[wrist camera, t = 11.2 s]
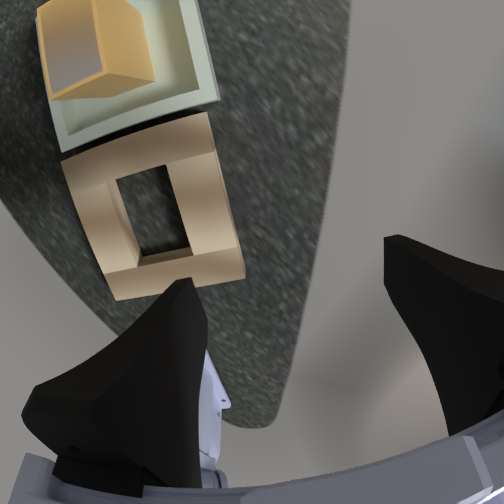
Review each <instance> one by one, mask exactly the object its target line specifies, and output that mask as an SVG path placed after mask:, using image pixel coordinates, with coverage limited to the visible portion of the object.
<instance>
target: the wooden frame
mask: <svg viewBox="0 0 504 504" xmlns="http://www.w3.org/2000/svg"><path fill="white" fill-rule="evenodd" d="M164 164H166V166H167V170H168V173H169V177H170V180H171V184H172V187H173V190H174V194H175V197H176V200H177V204H178V207H179V210H180V214H181V217H182V220H183V223H184V227H185V230H186V233H187V236H188V239H189V242H190V245H191V247H187V248H182V249H178V250H173V251H168V252H163V253H159V254H154V255H149V256H145V257H143V255H142V253H141V250H140V248H139V245H138V243H137V240H136V237H135V235H134V232H133V229H132V226H131V224H130V221H129V218H128V215H127V212H126V210H125V207H124V204H123V201H122V198H121V195H120V192H119V189H118V186H117V183H116V180H115V179H118V178H121V177H124V176H127V175H131V174H134V173H137V172H140V171H144V170H147V169H150V168H154V167H157V166H161V165H164ZM61 165H62V169H63V172H64V175H65V178H66V181H67V184H68V187H69V190H70V193H71V196H72V198H73V201H74V204H75V207H76V209H77V212H78V215H79V217H80V220H81V223H82V225H83V228H84V230H85V233H86V235H87V238H88V240H89V242H90V245H91V247H92V250H93V252H94V254H95V257H96V259H97V261H98V263H99V266H100V268H101V270H102V272H103V274H104V276H105V279H106V281H107V283H108V285H109V287H110V289H111V291H112V293H113V295H114V297H115V299H116V301H118V300H124V299H131V298H137V297H143V296H149V295H154V294H160V293H163V292H164V291H165V290H166V289H167V288H168V287H169V286H170V285H171V284H172V283H173V282H174V281H175V280H177V279H182V278H188V277H192V280H193V282H194V285H195V287H200V286H206V285H211V284H217V283H222V282H228V281H233V280H239V279H244V278H245V264H244V260H243V256H242V252H241V248H240V245H239V241H238V237H237V233H236V229H235V225H234V221H233V217H232V213H231V209H230V205H229V201H228V197H227V192H226V188H225V184H224V180H223V176H222V172H221V168H220V164H219V160H218V156H217V152H216V148H215V144H214V139H213V135H212V131H211V127H210V123H209V119H208V115H207V112H203V113H199V114H195V115H191V116H187V117H184V118H180V119H177V120H173V121H170V122H166V123H163V124H160V125H157V126H153V127H150V128H147V129H144V130H141V131H138V132H135V133H132V134H129V135H126V136H124V137H121V138H118V139H115V140H113V141H110V142H107V143H105V144H102V145H99V146H97V147H94V148H92V149H89V150H87V151H84V152H82V153H80V154H77V155H75V156H73V157H70V158H68V159H66V160H63V161H61Z"/></svg>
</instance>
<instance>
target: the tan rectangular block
mask: <svg viewBox="0 0 504 504" xmlns="http://www.w3.org/2000/svg"><path fill="white" fill-rule="evenodd" d="M37 18H38V29H39V38H40V46H41V54H42V61H43V67H44V73H45V79H46V84H47V90H48V95H49V99H50V101H54V100H66V99H81V98H106V97H114V96H117V95H119V94H122V93H125V92H127V91H130V90H133V89H136V88H139V87H141V86H144V85H147V84H150V83H153V82H156V81H155V76H154V72H153V67H152V63H151V58H150V54H149V49H148V44H147V39H146V34H145V29H144V24H143V19H142V14H141V12H139V11H138V10H137V9H136V8H134V7H133V6H132V5H130V4H129V3H128V2H126V1H125V0H50V1H49V2H47V3H45V4H44V5H42V6H41V7H39V8H38V9H37Z"/></svg>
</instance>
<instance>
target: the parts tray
mask: <svg viewBox="0 0 504 504" xmlns="http://www.w3.org/2000/svg"><path fill="white" fill-rule="evenodd" d="M125 1H126V2H128V3H129V4H130V5H132V6H133V7H134V8H136V9H137V10H138V11H139V12H141V14H142V19H143V24H144V29H145V34H146V39H147V44H148V49H149V54H150V58H151V63H152V67H153V72H154V76H155V81H156V82H153V83H150V84H147V85H144V86H141V87H139V88H136V89H133V90H130V91H127V92H125V93H122V94H119V95H117V96H114V97H106V98H81V99H66V100H54V101H50V99H49V95H48V90H47V84H46V79H45V73H44V67H43V61H42V54H41V46H40V38H39V29H38V18H37V17H36V28H37V37H38V45H39V52H40V59H41V65H42V71H43V76H44V82H45V87H46V92H47V97H48V101H49V106H50V110H51V114H52V118H53V122H54V126H55V130H56V134H57V138H58V141H59V145H60V148H61V152H65V151H68V150H70V149H73V148H76V147H79V146H81V145H84V144H86V143H88V142H91V141H93V140H96V139H98V138H101V137H103V136H106V135H109V134H111V133H114V132H117V131H119V130H122V129H125V128H128V127H130V126H133V125H136V124H139V123H142V122H145V121H148V120H151V119H154V118H157V117H161V116H164V115H167V114H171V113H174V112H177V111H181V110H184V109H188V108H192V107H196V106H199V105H203V104H207V103H211V102H215V101H220V100H221V98H220V93H219V89H218V85H217V81H216V76H215V72H214V68H213V64H212V59H211V55H210V51H209V47H208V42H207V38H206V34H205V30H204V26H203V21H202V17H201V13H200V9H199V5H198V0H125Z"/></svg>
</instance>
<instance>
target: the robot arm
mask: <svg viewBox="0 0 504 504" xmlns="http://www.w3.org/2000/svg"><path fill="white" fill-rule="evenodd" d="M384 285H385V287H386V289H387V292H388V294H389V296H390V299H391V301H392V303H393V305H394V306H395V308H396V310H397V311H398V313H399V315H400V316H401V318H402V319H403V321H404V323H405V324H406V326H407V327H408V329H409V330H410V332H411V334H412V335H413V337H414V339H415V341H416V342H417V344H418V346H419V348H420V349H421V352H422V353H423V355H424V358H425V360H426V363H427V365H428V367H429V370H430V372H431V375H432V378H433V381H434V383H435V386H436V389H437V392H438V395H439V398H440V402H441V405H442V409H443V412H444V416H445V419H446V424H447V429H448V434H449V437H447V438H444V439H441V440H437V441H434V442H432V443H429V444H427V445H424V446H421V447H419V448H416V449H414V450H411V451H408V452H405V453H402V454H399V455H396V456H393V457H390V458H387V459H384V460H380V461H377V462H374V463H370V464H367V465H363V466H360V467H355V468H351V469H348V470H343V471H339V472H334V473H330V474H324V475H320V476H314V477H308V478H302V479H296V480H291V481H286V482H281V483H276V484H272V485H264V486H255V487H254V486H253V487H239V488H231V485H230V482H229V480H228V479H227V477H226V475H225V473H224V472H223V471H221V470H217V469H216V461H217V459H218V457H219V453H220V434H221V413H222V409H225V408H229V407H231V402H230V400H229V398H228V396H227V394H226V392H225V390H224V388H223V385H222V383H221V381H220V379H219V377H218V374H217V372H216V370H215V368H214V366H213V363H212V361H211V359H210V356H209V354H208V352H207V350H206V348H207V333H208V319H207V317H206V314H205V312H204V309H203V306H202V304H201V301H200V299H199V296H198V293H197V291H196V288H195V285H194V282H193V280H192V277H188V278H182V279H177V280H175V281H174V282H173V283H172V284H171V285H170V286H169V287H168V288H167V289H166V290H165V291H164V292H163V293H162V294H161V295H160V296H159V297H158V299H157V300H156V301H155V302H154V303H153V304H152V305H151V306H150V307H149V308H148V309H147V310H146V311H145V312H144V313H143V314H142V315H141V316H140V317H139V318H138V319H137V320H136V321H135V322H134V323H133V324H132V325H131V326H130V327H129V328H128V329H127V330H126V331H125V332H123V333H122V334H121V335H120V336H119V337H118V338H116V339H115V340H114V341H113V342H111V343H110V344H109V345H108V346H106V347H105V348H103V349H102V350H101V351H99V352H98V353H96V354H95V355H93V356H92V357H91V358H89V359H88V360H86V361H85V362H83V363H81V364H79V365H78V366H76V367H74V368H73V369H71V370H69V371H67V372H65V373H63V374H61V375H59V376H57V377H55V378H53V379H51V380H48V381H46V382H44V383H42V384H39V385H37V386H35V387H34V389H33V391H32V393H31V395H30V397H29V399H28V401H27V403H26V405H25V407H24V409H23V411H22V414H21V416H22V419H23V422H24V424H25V425H26V427H27V428H28V429H29V430H30V431H31V432H32V434H34V435H35V436H36V437H37V438H38V439H39V440H40V441H41V442H42V443H44V444H45V445H46V446H47V447H48V448H49V449H51V450H52V451H53V452H54V453H55V454H57V455H58V457H57V460H56V463H55V462H53V461H51V460H49V459H47V458H44V457H40V456H37V455H33V454H30V453H26V454H25V456H24V459H23V462H22V464H21V467H20V470H19V473H18V475H17V478H16V481H15V484H14V487H13V490H12V493H11V497H10V500H9V503H8V504H504V271H502V270H497V269H493V268H488V267H485V266H481V265H478V264H475V263H471V262H468V261H465V260H462V259H460V258H457V257H454V256H452V255H449V254H447V253H444V252H442V251H439V250H437V249H434V248H432V247H430V246H428V245H425V244H423V243H420V242H418V241H415V240H413V239H411V238H408V237H405V236H402V235H398V234H397V235H393V236H388V237H384Z"/></svg>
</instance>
